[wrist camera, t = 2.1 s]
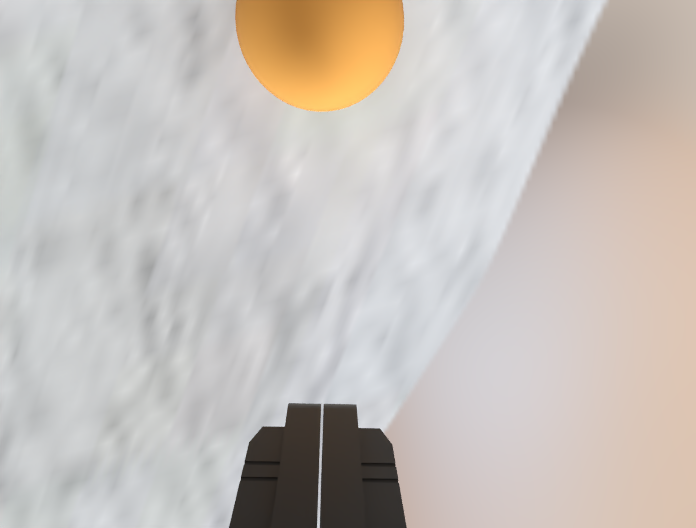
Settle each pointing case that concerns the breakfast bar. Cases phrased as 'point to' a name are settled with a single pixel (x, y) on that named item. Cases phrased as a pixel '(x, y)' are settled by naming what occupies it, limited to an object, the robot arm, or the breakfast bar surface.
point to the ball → (320, 48)
